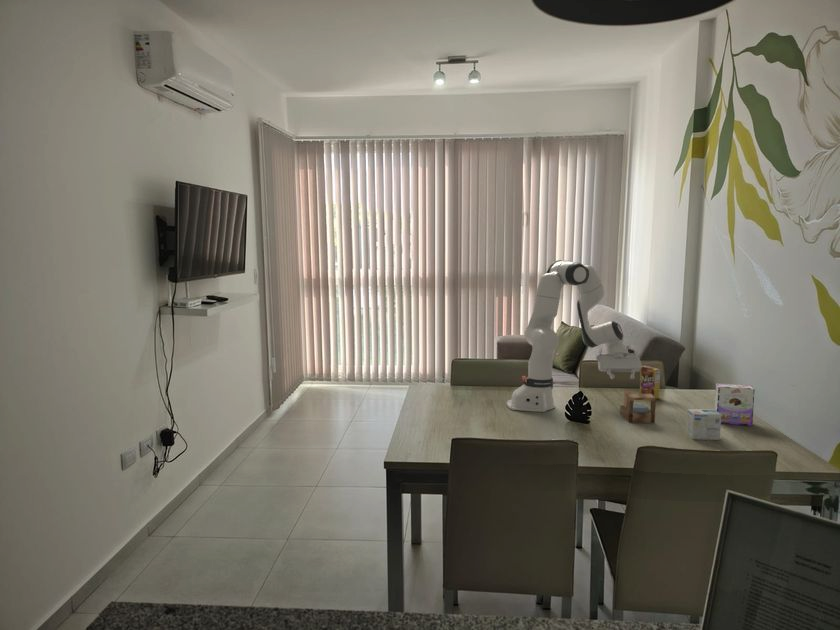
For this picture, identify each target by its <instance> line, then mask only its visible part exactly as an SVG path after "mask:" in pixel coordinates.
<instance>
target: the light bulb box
mask: <svg viewBox="0 0 840 630" xmlns="http://www.w3.org/2000/svg"><path fill="white" fill-rule="evenodd" d="M686 423H687V424H686V435H687V436H688V437H689V438H690V439H692V440H704V441H705V440H710V441H714V440H715V441H720V440H721V427H722V426H721V425H722V423H721V414H720V413H719V412H717V411H716V410H715V408H714V409H712V408H711V409H710V408H709V409H708V408H707V409H705V408H704V409H700V408H699V409H698V408H694V409H692V408H688V409H687V419H686Z"/></svg>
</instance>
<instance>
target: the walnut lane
mask: <svg viewBox="0 0 840 630" xmlns="http://www.w3.org/2000/svg"><path fill="white" fill-rule="evenodd" d="M625 396H626V397H627V398H628V399H629V403H628V409H627V408H626V407H625V406H624V404H622V405H619V406H620V407H619V414H620V415H621V416H622V417H623V418H624V419H625V420H626V421H627V422H628V423H630V424H631V423H637V424H639V423H645V424H646V423H647V424H648V423H653V424H654V423H655V421H656V403H657V399H656V397H654V396H653V395H652V394H640V393H634V394H625ZM633 400H634V401H650V408H649V407H647V408H648V412H647V413H633V404H634V403H633Z"/></svg>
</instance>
